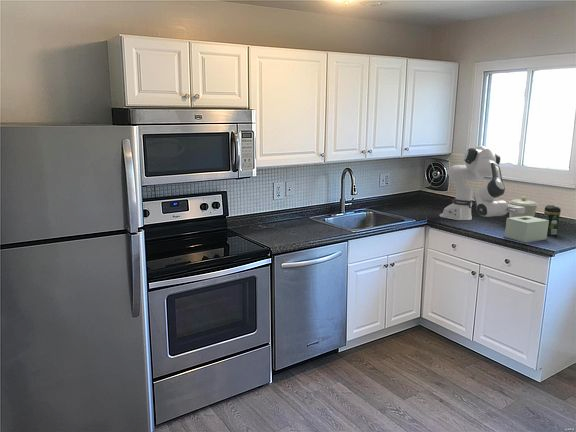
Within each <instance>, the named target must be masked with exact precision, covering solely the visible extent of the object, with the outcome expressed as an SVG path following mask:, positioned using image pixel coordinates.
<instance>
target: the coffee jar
mask: <svg viewBox="0 0 576 432" xmlns="http://www.w3.org/2000/svg"><path fill="white" fill-rule="evenodd" d="M561 212H562V211H561V207H559V206H556V205H553V204H552V205H551V204H548V205H545V206H544V215H543V219H545V220H549V225H548V231H547V236H557V235H558V230H559V223H560V222H559V220H560V215H561Z"/></svg>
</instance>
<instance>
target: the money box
mask: <svg viewBox="0 0 576 432" xmlns="http://www.w3.org/2000/svg"><path fill="white" fill-rule="evenodd" d="M505 221H506V222H505V227H504V228H505V229H504V235H503V236H504V238H507V239H511V240H515V241H518V242H521V243H532V242H537V241H538V242H539V241H545V240H547V237H548V235H547V231H548V225H549V220H545V219H544V218H540V217H535V216H534V217H531V216H522V217H512V218H509V217H507V218H506V220H505Z"/></svg>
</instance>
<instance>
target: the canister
mask: <svg viewBox="0 0 576 432" xmlns="http://www.w3.org/2000/svg"><path fill="white" fill-rule="evenodd" d="M508 204H511V205H516V206H521V207H525V212H524V213H519V214H517V213H510V212H508V213H509V214H508V215H509V217H508V218H512V217H522V216H531V217H535V215H536V211H537V208H538V206H539V204H538V203H537V202H536V201H533V200H528V197H527V196H524V195H522V196H521V198H520V199H511V200H509V201H508Z"/></svg>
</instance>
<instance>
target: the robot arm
mask: <svg viewBox="0 0 576 432" xmlns="http://www.w3.org/2000/svg"><path fill="white" fill-rule="evenodd" d="M463 161H464V164H455V165H450V167H449V168H448V171H447V175H448V178H449V179H450V180H451V181H452V182H453V184H454V185H455V198H453V199H451V201H452V203H451V204H449V205H447V206H445V208H443V212H442V213H440V214H439V217H440V218H445V219H448V220H449V219H451V220H456V221H471V220H473V217H472V206H473V199H474V202H475V204H476V208H475V211H476V213H477V214H478V215H480V216H481V217H486V218H487V217H488V218H490V217H501V216H506V215H507V214H508V213H509V212H510V213H517V214H519V213H524V212H525V207H521V206H516V205H511V204H510V203H507V202H506V201H505V200H496V199H498V198H499V197H501V196H503V195H504V193H505V191H506V188H505V184H504V182H503V176H502V171H501V168H500V164H501V156H500V155H499V154H498V153H496V152H495V151H494V150H493V149H492V148H487V147H486V146H484V145H478V146H476V147H475V148H474V147H472V148H471V147H470V148H468V149H467V150H466V151H465V153H464V155H463ZM488 177H490V181H488V182H487V183H486V184H484V185H483V186H481V187H480V188H479V189H477V190H476V191H475V192H474V191H473V187H471V186H470V185H469V184H467V183H466V181H472V182H474V181H481V180H483V179H484V178H488ZM473 193H474V194H473Z"/></svg>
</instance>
